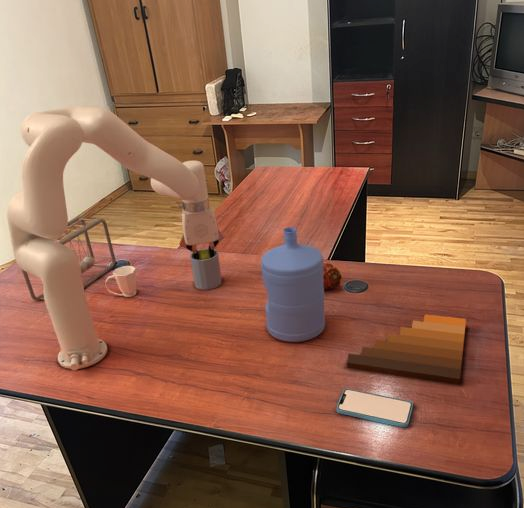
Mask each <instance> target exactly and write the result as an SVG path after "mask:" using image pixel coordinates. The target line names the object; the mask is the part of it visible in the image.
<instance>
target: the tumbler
mask: <svg viewBox="0 0 524 508" xmlns="http://www.w3.org/2000/svg"><path fill="white" fill-rule="evenodd" d="M201 250H207V251H209V250H208V248H199V249H197V251H198V253H199V252H200V251H201ZM214 254H215V256H214V257H212V258H210V259H205V260H196V259H194V256H193V252H191V253H190V254H189V261H190V266H191V272H192V278H193V284H194V288H196V289H198V290H205V291H206V290H213V289H215V288H218V287H220V286H221V285H222V282H223V279H222V278H223V277H222V272H221V271H222V270H221V263H220V257H219V252H218V250H217V249H214Z"/></svg>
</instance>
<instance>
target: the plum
mask: <svg viewBox="0 0 524 508" xmlns="http://www.w3.org/2000/svg"><path fill="white" fill-rule="evenodd" d="M198 255H199V260H205V259H210V253H209V251H207V250H201V251H200V252H199V253H198Z"/></svg>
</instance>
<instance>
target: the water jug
mask: <svg viewBox="0 0 524 508" xmlns="http://www.w3.org/2000/svg"><path fill="white" fill-rule="evenodd" d="M282 231H283V240H284V243H283V244H281V245H278V246H275V247H273V248H270V249H268V250H266V252H264V253H263V255H262V256H261V259H260V263H261V264H260V271H261V276H262V284H263V286H264V287H265V290H266V295H267V301H266V303H265V316H266V318H265V319H266V320H265V323H266V329H267V332H268V333H269V334H270V335H271V336H272V337H273V338H274V339H277V340H278V341H282V342H287V343H300V342H301V343H302V342H306V341H309V340H312V339H314V338H316V337H318V336H319V335H320V334H321V333H323V331H324V330H325V327H326V315H325V288H324V284H323V271H324V264H325V263H324V258H323V257H324V256H323V253H322V252H321V251H320V250H319V249H318V248H316V247H315V246H312V245H309V244H303V243H298V235H297V228H296V227H293V226H289V227H285V228H283V230H282ZM323 263H324V264H323Z"/></svg>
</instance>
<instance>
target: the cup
mask: <svg viewBox="0 0 524 508" xmlns="http://www.w3.org/2000/svg"><path fill="white" fill-rule="evenodd" d="M110 279H114V280H115V282H116V284H117V286H118V288H119V290H120V292H121V293H117V292H114V291H112V290H110V289H109V288H108V285H107V284H108V281H109V280H110ZM105 289H106V290H107V292H108V293H110V294H112V295H115V296H118V297H125V298H131V297H134V296H136V294H137V293H138V292H137V291H138V290H137V268H136V267H134V266H132V265H122V266H119V267H117V268H115V269H114V270H113V272H112V275H110V276H108V277H106V279H105Z"/></svg>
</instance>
